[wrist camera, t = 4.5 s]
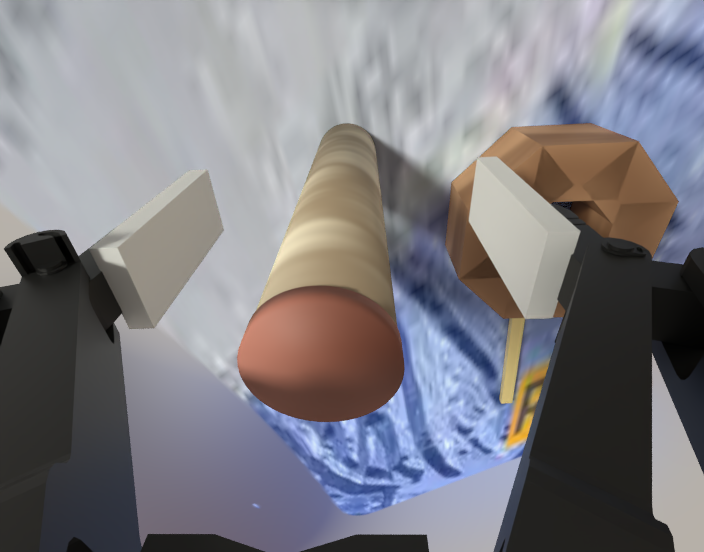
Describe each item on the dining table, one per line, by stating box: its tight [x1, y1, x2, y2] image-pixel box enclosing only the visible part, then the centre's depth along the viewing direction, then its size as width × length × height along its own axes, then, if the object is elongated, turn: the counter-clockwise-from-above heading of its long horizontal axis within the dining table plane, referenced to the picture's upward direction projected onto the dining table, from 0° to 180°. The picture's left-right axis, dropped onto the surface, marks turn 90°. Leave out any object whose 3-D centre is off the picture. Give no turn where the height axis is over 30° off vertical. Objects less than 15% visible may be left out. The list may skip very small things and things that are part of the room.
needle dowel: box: [237, 124, 404, 422], centre depth 14 cm, size 3×3×16 cm
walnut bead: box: [445, 123, 679, 319], centre depth 21 cm, size 10×10×4 cm
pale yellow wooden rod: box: [500, 318, 525, 404], centre depth 29 cm, size 11×1×1 cm, turn 8°
